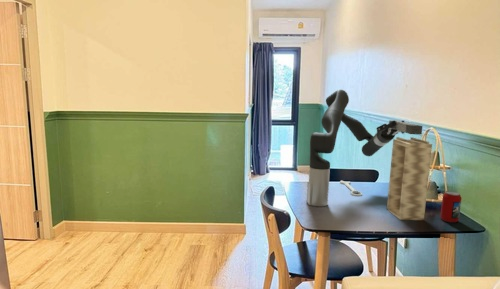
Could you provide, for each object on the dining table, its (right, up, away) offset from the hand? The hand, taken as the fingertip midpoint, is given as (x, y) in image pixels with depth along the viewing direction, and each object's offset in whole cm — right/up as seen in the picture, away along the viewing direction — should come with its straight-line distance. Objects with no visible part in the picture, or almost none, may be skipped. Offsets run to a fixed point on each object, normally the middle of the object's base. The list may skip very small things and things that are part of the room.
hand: (399, 122), depth 159 cm
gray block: (0, -4, -4) cm, 6 cm away
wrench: (-13, -35, +32) cm, 49 cm away
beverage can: (+16, -42, -12) cm, 46 cm away
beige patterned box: (-1, -40, -7) cm, 41 cm away
